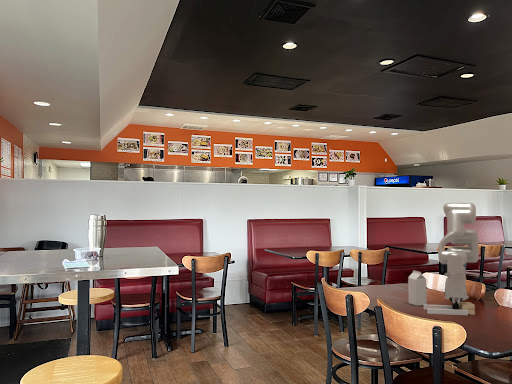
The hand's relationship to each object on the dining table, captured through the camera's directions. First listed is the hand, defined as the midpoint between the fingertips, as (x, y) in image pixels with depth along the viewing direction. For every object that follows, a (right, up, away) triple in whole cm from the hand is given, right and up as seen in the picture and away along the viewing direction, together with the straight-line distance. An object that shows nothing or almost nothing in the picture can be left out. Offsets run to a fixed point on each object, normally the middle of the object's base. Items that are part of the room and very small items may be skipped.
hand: (455, 310), depth 221 cm
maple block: (+6, -1, -1) cm, 6 cm away
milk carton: (-13, -2, +19) cm, 23 cm away
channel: (-5, -1, +1) cm, 5 cm away
